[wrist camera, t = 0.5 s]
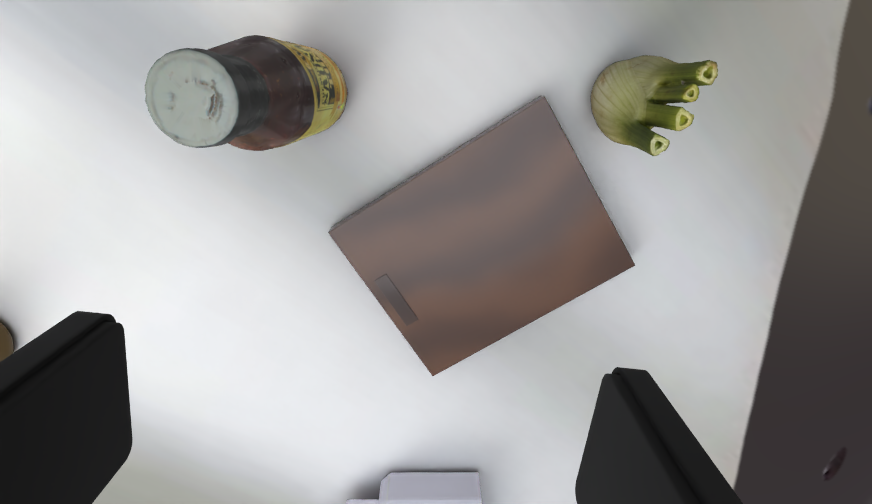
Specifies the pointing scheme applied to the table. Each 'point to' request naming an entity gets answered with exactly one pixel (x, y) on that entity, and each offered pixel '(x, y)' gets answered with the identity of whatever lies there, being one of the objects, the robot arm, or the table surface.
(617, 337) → the table surface
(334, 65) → the sauce bottle
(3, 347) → the kendama
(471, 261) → the cutting board
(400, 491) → the charger
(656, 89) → the fennel bulb
